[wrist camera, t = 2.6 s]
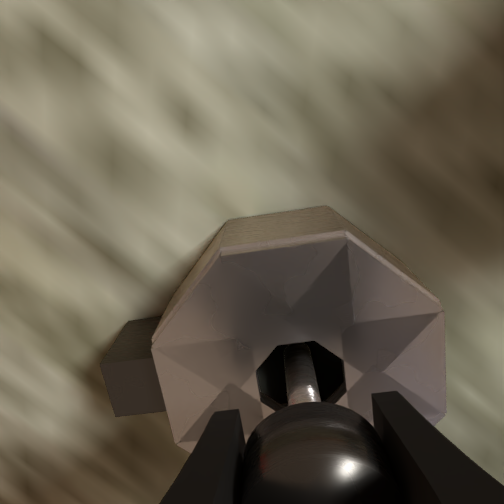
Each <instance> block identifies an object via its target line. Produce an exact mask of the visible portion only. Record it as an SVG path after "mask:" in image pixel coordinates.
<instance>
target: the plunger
mask: <svg viewBox="0 0 504 504" xmlns="http://www.w3.org/2000/svg"><path fill="white" fill-rule="evenodd" d="M284 365H285V375H286V386H287V397H288V406H287V407H284V408H282V409H279V410H277V411H275V412H274V413H272V414H270V415H269V416H267V417H266V418H265V419H263V420H262V421H261V422H260V423H259V424H258V425H257V426H256V427H255V429H254V430H253V431H252V433H251V434H250V436H249V438H248V440H247V443H246V445H245V449H244V454H243V472H242V491H241V504H405V503H404V500H403V497H402V495H401V492H400V489H399V487H398V484H397V481H396V479H395V476H394V473H393V471H392V468H391V465H390V463H389V460H388V457H387V454H386V452H385V449H384V446H383V444H382V441H381V439H380V437H379V435H378V433H377V431H376V430H375V428H374V427H373V426H372V425H371V424H370V423H369V422H368V421H367V420H366V419H365V418H364V417H362V416H361V415H360V414H358V413H356V412H355V411H353V410H351V409H349V408H346V407H344V406H341V405H337V404H333V403H327V402H321V399H320V394H319V389H318V385H317V380H316V375H315V370H314V366H313V361H312V356H311V351H310V349H309V347H308V346H307V345H306V344H305V343H302V342H299V343H291V344H289V345H287V346H286V348H285V349H284Z"/></svg>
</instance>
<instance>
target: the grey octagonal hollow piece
mask: <svg viewBox="0 0 504 504" xmlns="http://www.w3.org/2000/svg"><path fill="white" fill-rule="evenodd" d="M307 341H316V342H318V343H319V344H320V345H322V346H323V347H325V348H326V349H328V350H329V351H331V352H332V353H334V354H335V355H336V356H338V357H339V358H341V360H342V370H343V380H344V382H343V383H342V384H341V385H340V386H339V387H338V388H337V389H336V390H335V392H334V393H333V394H332V395H331V396H330V397H329V398H328V399H324V400H321V402H327V403H333V404H337V405H341V406H344V407H346V408H349V409H351V410H353V411H355V412H356V413H358V414H360V415H361V416H362V417H364V418H365V419H366V420H367V421H368V422H369V423H370V424H371V425H372V426H373V427H374V423H373V410H372V398H371V393H380V392H389V391H398V392H399V393H400V394H402V395H403V396H404V398H405V399H406V400H407V401H408V402H409V403H410V404H411V405H412V406H413V407H414V408H415V409H416V410H417V411H418V412H419V413H420V414H422V415H423V416H424V417H425V418H426V419H427V420H428V421H429V422H430V423H431V424H432V425H433V426H434V425H435V424H437V423H438V422H439V421H440V420H441V419H442V418H443V417H444V416H445V413H446V365H445V313H444V311H443V309H442V307H441V302H440V300H439V299H438V298H437V297H436V296H435V295H434V294H433V293H432V292H431V291H430V290H429V289H428V288H427V287H426V286H425V285H424V284H423V283H422V282H421V281H420V280H419V279H418V278H417V277H416V276H415V275H414V274H413V273H412V272H411V270H410V269H409V268H408V267H407V266H406V265H405V264H404V263H403V262H401V261H400V260H399V259H397V258H396V257H395V256H393V255H392V254H391V253H389V252H388V251H387V250H386V249H384V248H383V247H382V246H380V245H379V244H378V243H376V242H375V241H374V240H372V239H371V238H370V237H368V236H367V235H366V234H364V233H363V232H362V231H360V230H359V229H358V228H356V227H355V226H354V225H352V224H351V223H350V222H348V221H347V220H346V219H344V218H343V217H342V216H341V215H339V214H338V213H337V212H335V211H334V210H333V209H331V208H330V207H329V206H328V207H327V206H321V207H314V208H307V209H300V210H293V211H287V212H280V213H273V214H266V215H259V216H252V217H245V218H239V219H232V220H228V221H227V222H226V223H225V225H224V226H223V227H222V229H221V230H220V231H219V233H218V234H217V235H216V237H215V238H214V240H213V241H212V242H211V244H210V245H209V246H208V248H207V249H206V250H205V252H204V253H203V255H202V256H201V257H200V259H199V260H198V261H197V263H196V264H195V265H194V267H193V268H192V269H191V271H190V272H189V274H188V275H187V276H186V278H185V279H184V280H183V282H182V283H181V284H180V286H179V287H178V289H177V290H176V291H175V293H174V294H173V296H172V298H171V300H170V302H169V304H168V306H167V308H166V310H165V312H164V314H163V316H162V317H155V318H147V319H139V320H132V321H128V322H127V324H126V325H125V327H124V328H123V330H122V331H121V333H120V335H119V336H118V338H117V339H116V341H115V342H114V344H113V345H112V347H111V348H110V350H109V351H108V353H107V354H106V356H105V357H104V359H103V360H102V362H101V363H100V367H101V370H102V374H103V377H104V380H105V384H106V387H107V390H108V394H109V397H110V400H111V404H112V407H113V410H114V414H115V417H120V416H128V415H137V414H145V413H154V412H163V411H167V414H168V418H169V422H170V426H171V430H172V434H173V438H174V442H175V443H177V444H176V445H177V446H179V447H181V448H182V449H184V450H186V451H187V452H189V453H192V451H193V449H194V448H195V446H196V444H197V442H198V440H199V439H200V437H201V435H202V433H203V431H204V429H205V427H206V425H207V424H208V422H209V420H210V418H211V416H212V415H213V413H214V412H216V411H225V410H233V409H239V411H240V417H241V422H242V427H243V432H244V437H245V442H246V443H247V440H248V438H249V436H250V434H251V433H252V431H253V430H254V429H255V427H256V426H257V425H258V424H259V423H260V422H261V421H262V420H263V419H265V418H266V417H267V416H269V415H270V414H272V413H274V412H275V411H277V410H279V409H282V408H284V407H287V406H288V404H279V403H278V402H276V401H275V400H273V399H271V398H270V397H268V396H267V395H265V394H264V393H262V392H261V391H260V385H259V379H258V373H257V368H258V367H259V366H260V365H261V364H262V363H263V361H264V360H265V359H266V358H267V357H268V356H269V354H270V353H271V352H272V351H273V350H274V349H275V347H276V346H277V345H283V344H291V343H299V342H307Z"/></svg>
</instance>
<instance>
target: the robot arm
mask: <svg viewBox="0 0 504 504" xmlns="http://www.w3.org/2000/svg"><path fill="white" fill-rule="evenodd" d="M371 398H372V410H373V423H374V428H375V430H376V431H377V433H378V435H379V437H380V439H381V441H382V444H383V446H384V449H385V452H386V454H387V457H388V460H389V463H390V465H391V468H392V471H393V473H394V476H395V479H396V481H397V484H398V487H399V489H400V492H401V495H402V497H403V500H404V503H405V504H504V486H503V485H502V484H501V483H499V482H498V481H497V480H496V479H494V478H493V477H492V476H491V475H489V474H488V473H487V472H486V471H484V470H483V469H482V468H481V467H479V466H478V465H477V464H476V463H475V462H473V461H472V460H471V459H470V458H469V457H468V456H466V455H465V454H464V453H463V452H462V451H461V450H460V449H458V448H457V447H456V446H455V445H454V444H453V443H452V442H450V441H449V440H448V439H447V438H446V437H445V436H444V435H443V434H442V433H440V432H439V431H438V430H437V429H436V428H435V427H434V426H433V425H432V424H431V423H430V422H429V421H428V420H427V419H426V418H425V417H424V416H423V415H422V414H420V413H419V412H418V411H417V410H416V409H415V408H414V407H413V406H412V405H411V404H410V403H409V402H408V401H407V400H406V399H405V398H404V396H403V395H402V394H400V393H399V392H398V391H389V392H380V393H371ZM245 445H246V442H245V437H244V432H243V427H242V422H241V417H240V411H239V409H233V410H225V411H216V412H214V413H213V415H212V416H211V418H210V420H209V422H208V424H207V425H206V427H205V429H204V431H203V433H202V435H201V437H200V439H199V440H198V442H197V444H196V446H195V448H194V449H193V451H192V453H191V455H190V456H189V458H188V460H187V461H186V463H185V465H184V466H183V468H182V469H181V471H180V473H179V474H178V476H177V478H176V479H175V481H174V483H173V484H172V486H171V487H170V489H169V490H168V492H167V493H166V495H165V496H164V497H163V499H162V500H161V502H160V503H159V504H241V491H242V472H243V454H244V449H245Z"/></svg>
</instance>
